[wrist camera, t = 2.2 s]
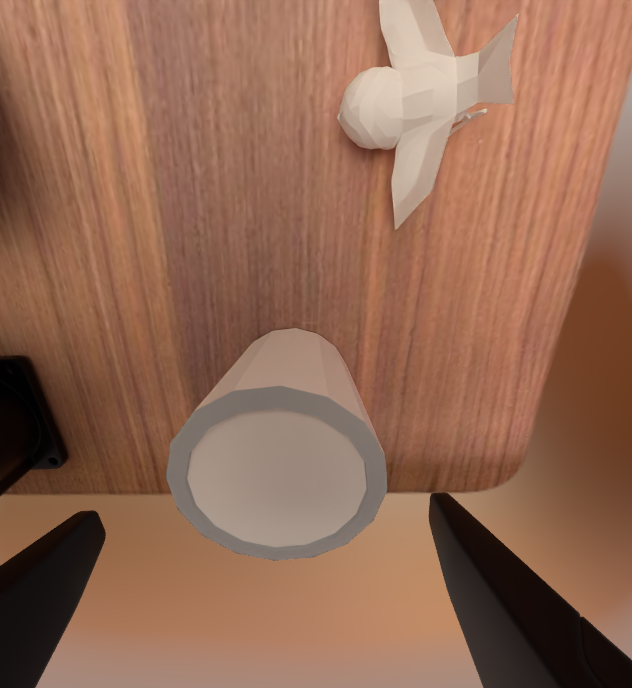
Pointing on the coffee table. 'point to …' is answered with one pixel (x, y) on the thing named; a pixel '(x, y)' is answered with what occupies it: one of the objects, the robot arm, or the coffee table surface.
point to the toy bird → (422, 95)
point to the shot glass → (280, 453)
